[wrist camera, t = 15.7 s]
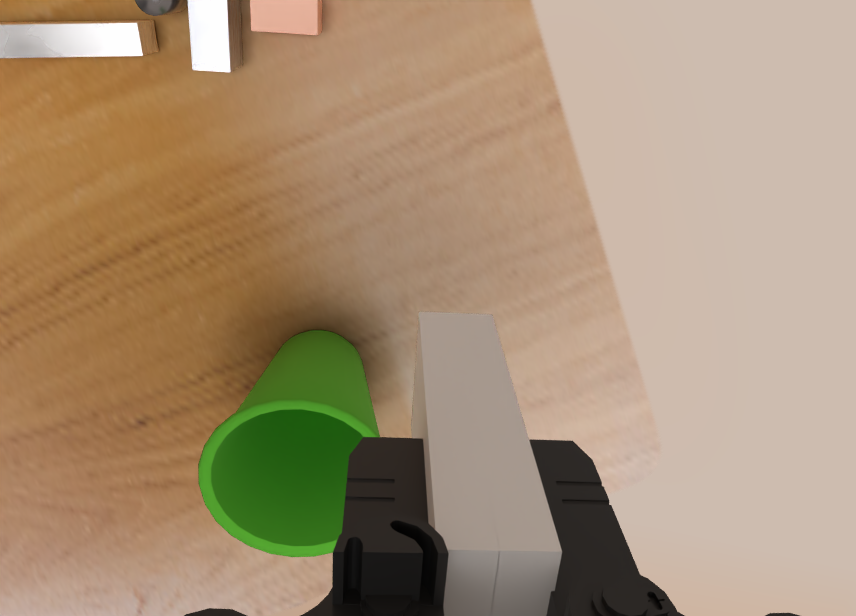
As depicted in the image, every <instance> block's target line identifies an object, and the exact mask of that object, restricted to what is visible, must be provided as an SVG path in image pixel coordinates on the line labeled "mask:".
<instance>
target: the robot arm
mask: <svg viewBox="0 0 856 616" xmlns="http://www.w3.org/2000/svg"><path fill="white" fill-rule="evenodd" d="M411 431H412V438H386V437H363V438H362V439H361V441H360V442H359V443H358V445H357V446H356V447H355V449H354V450H353V451H352V452H351V454H350V455H349V461H348V472H347V483H346V493H345V504H344V515H343V525H342V533H341V534H340V535H339V537H338V540H337V542H336V545H335V548H334V550H333V587H332V589H331V591H330V592H329V594H328V595H327V596H326V597H325V598H324V600H323V601H321V602H320V603H319V604H318V605H317V606H316V607H314V608H313V609H311V610H310V611H308V612H306V613H305V614H303V615H301V616H684V615H682V614H680V613H679V612H677V610H676V608H675V606H674V605H673V604H672V602H671V601H670V599H669V598H668V596H667V595H666V593H665V592H664V591H663V590H661V589H660V588H659V587H658V586H657V585H655V584H654V583H653V582H651V581H650V580H649V579H648V578H645V577H643V576H641V575H640V574H639V571H638V569H637V566H636V564H635V561H634V559H633V557H632V554H631V552H630V549H629V547H628V545H627V542H626V540H625V537H624V535H623V533H622V530H621V528H620V525H619V523H618V521H617V518H616V516H615V513H614V511H613V509H612V506H611V505H609V499H608V496H607V494H606V491H605V489H604V487H602V482H601V479H600V477H599V475H598V472H597V470H596V467H595V465H594V463H593V460H592V459H591V458H590V457H589V456H588V455H587V454H586V453H585V452H584V451H583V450H582V449H580V448H579V447H578V446H577V445H576V444H575V443H574V442H573V441H560V440H529V438H528V434H527V431H526V427H525V424H524V421H523V417H522V414H521V410H520V407H519V404H518V400H517V397H516V393H515V390H514V387H513V383H512V380H511V377H510V373H509V370H508V366H507V363H506V360H505V356H504V353H503V349H502V346H501V343H500V339H499V336H498V332H497V329H496V326H495V322H494V319H493V315H492V314H470V313H446V312H422V311H419V317H418V331H417V346H416V361H415V376H414V391H413V405H412V420H411ZM185 616H247V615H244V614H242V613H239V612H237V611H235V610H232V609H212V608H209V609H205V610H201V611H198V612H194V613H190V614H186V615H185ZM766 616H799V615H795V614H792V613H770V614H768V615H766Z"/></svg>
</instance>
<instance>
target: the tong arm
mask: <svg viewBox="0 0 856 616" xmlns="http://www.w3.org/2000/svg"><path fill="white" fill-rule="evenodd" d="M157 51H159V50H158V44H157V38H156V32H155V26H154V20H123V21H51V22H0V58H38V57H102V56H144V55H147V54H151V53H154V52H157Z"/></svg>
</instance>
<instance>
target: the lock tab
mask: <svg viewBox="0 0 856 616" xmlns="http://www.w3.org/2000/svg"><path fill="white" fill-rule="evenodd" d="M250 13H251V31H261V32H276V33H291V34H306V35H319V34H320V33H321V32H322V0H250Z"/></svg>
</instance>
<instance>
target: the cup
mask: <svg viewBox="0 0 856 616" xmlns="http://www.w3.org/2000/svg"><path fill="white" fill-rule="evenodd" d="M363 437H380V435H379V431H378V427H377V423H376V419H375V414H374V410H373V406H372V402H371V397H370V393H369V389H368V385H367V381H366V376H365V372H364V368H363V364H362V360H361V358H360V356H359V353H358V351H357V350H356V349H355V348H354V346H353V345H352V344H351V343H350V342H348V341H347V340H346V339H344V338H343V337H342V336H340V335H337V334H335V333H333V332H329V331H324V330H311V331H307V332H303V333H300V334H298V335H296V336H294V337H291V338H290V339H289V340H288V341H286V342H285V343H284V344H283V345H282V347H281V348H280V350H279V351H278V352H277V354H276V355H275V357H274V358H273V360H272V361H271V363H270V364H269V365H268V367H267V368H266V370H265V371H264V373H263V374H262V376H261V377H260V378H259V380H258V381H257V383H256V384H255V386H254V387H253V388H252V390H251V391H250V393H249V394H248V396H247V397H246V399H245V400H244V401H243V403H242V404H241V406H240V407H239V409H238V410H237V412H236V413H235V414H233V415H231V416H230V417H229V418H228V419H227V420H225V421H224V422H223V423H222V424H221V425H219V426H218V427H217V428H216V429H215V431H214V432H213V433H212V435H211V436H210V438H209V439H208V441H207V442H206V444H205V445H204V448H203V451H202V454H201V458H200V461H199V464H198V468H199V486H200V489H201V492H202V496H203V499H204V502H205V505H206V506H207V508H208V509H209V511H210V512H211V514H212V515H213V517H214V519H215V520H216V522H218V523H219V524H220V525H221V526H222V527H223V528H224V529H225V530H226V531H227V532H228V533H229V534H230V535H232V536H233V537H235V538H237V539H238V540H240V541H242V542H243V543H245V544H247V545H248V546H250V547H253V548H256V549H259V550H262V551H265V552H267V553H270V554H276V555H283V556H289V557H311V556H319V555H323V554H328V553H333V550H334V548H335V545H336V542H337V540H338V537H339V535H340V534H341V533H342V525H343V515H344V504H345V493H346V483H347V472H348V461H349V455H350V454H351V452H352V451H353V450H354V449H355V447H356V446H357V445H358V443H359V442H360V441H361V439H362V438H363Z"/></svg>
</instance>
